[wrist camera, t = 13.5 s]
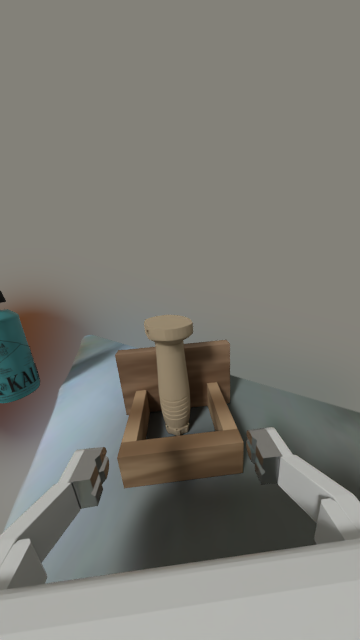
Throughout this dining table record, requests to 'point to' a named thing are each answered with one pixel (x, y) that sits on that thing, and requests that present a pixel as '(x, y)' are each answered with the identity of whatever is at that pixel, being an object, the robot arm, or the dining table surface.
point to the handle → (172, 368)
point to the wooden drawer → (205, 390)
